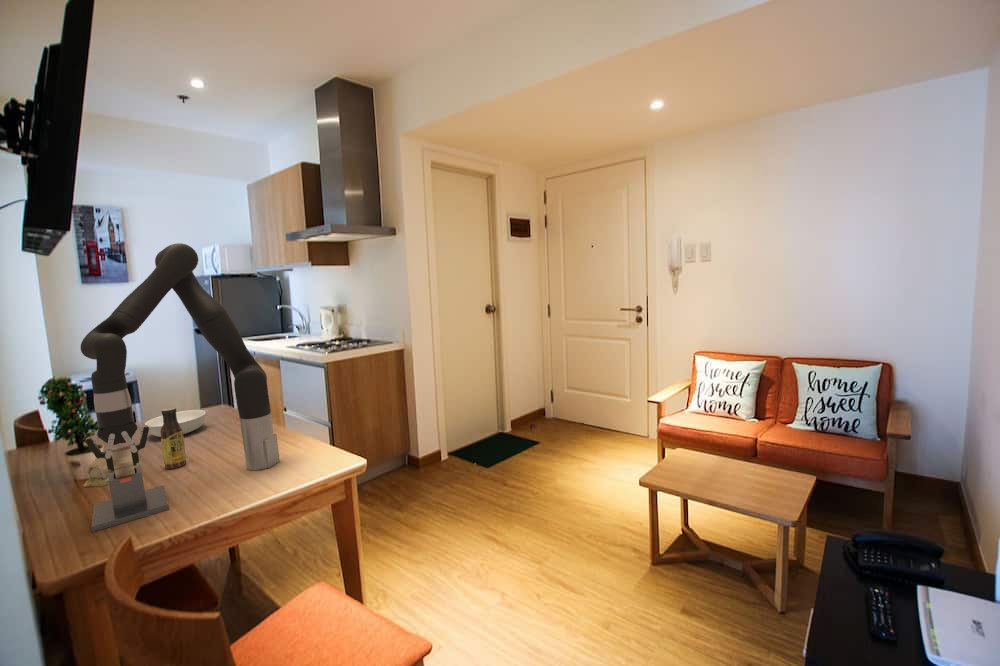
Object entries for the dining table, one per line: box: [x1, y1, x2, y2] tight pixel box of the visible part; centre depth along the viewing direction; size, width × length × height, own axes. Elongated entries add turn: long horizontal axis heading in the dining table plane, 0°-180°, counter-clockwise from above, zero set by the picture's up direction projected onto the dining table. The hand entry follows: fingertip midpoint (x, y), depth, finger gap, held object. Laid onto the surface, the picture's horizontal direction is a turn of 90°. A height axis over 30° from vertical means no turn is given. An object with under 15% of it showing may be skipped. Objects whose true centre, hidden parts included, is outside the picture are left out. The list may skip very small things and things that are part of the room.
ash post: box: [112, 445, 135, 478], centre depth 129 cm, size 4×4×16 cm
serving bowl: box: [144, 409, 207, 438], centre depth 195 cm, size 21×21×7 cm
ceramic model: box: [82, 447, 141, 488], centre depth 153 cm, size 14×11×10 cm
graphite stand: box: [91, 465, 170, 533], centre depth 130 cm, size 16×16×10 cm
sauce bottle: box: [160, 407, 187, 470], centre depth 159 cm, size 7×6×20 cm
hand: (124, 467), depth 129 cm, fingers closed on ash post, 4 cm apart
